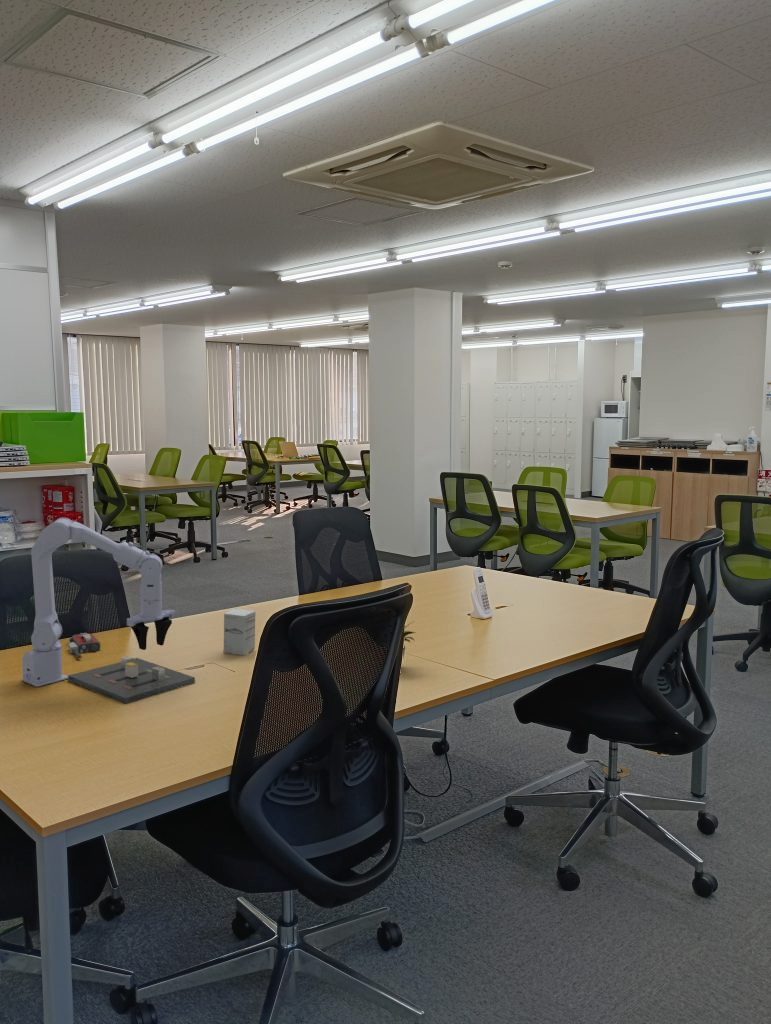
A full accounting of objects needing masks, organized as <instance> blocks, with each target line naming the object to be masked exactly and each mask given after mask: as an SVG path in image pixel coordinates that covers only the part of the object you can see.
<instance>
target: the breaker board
mask: <svg viewBox="0 0 771 1024" xmlns="http://www.w3.org/2000/svg"><path fill="white" fill-rule="evenodd" d="M130 662H132V663H135V664H138V676H137V677H133V678H131V677H128V676H125V664H127V663H130ZM67 676H68V679H67V681H68V682H70V683H73V684H75V685H77V686H81V687H83V688H85V689H88V690H91V691H93V692H95V693H98V694H101V695H102V696H105V697H107V698H110V699H113V700H115V701H118V702H121V703H122V704H125V705H126V704H129V703H133V702H137V701H140V700H142V699H145V698H149V697H153V696H155V695H156V696H157V695H159V694H163V693H166V692H169V691H172V689H173V690H176V689H178V687H179V688H182V687H181V686H183V687H186V686H189V685H192V684H195V683H196V682H195V681H196V680H195V679H196V678H195V677H194V676H192V675H189V674H185V673H182V672H179V671H177V670H173V669H171V668H167V667H166V666H165V667H164V666H162V665H159V664H158V663H157V664H156V663H153V662H150V661H148V660H144V659H142V658H139V657H136V658H135V657H132V656H129V655H125V656H121V657H120V662H119V661H118V662H115V663H112V664H108V665H104V666H101V667H96V668H92V669H87V670H85V671H80V672H78V673H77V672H76V673H72V674H69V675H67ZM194 682H195V683H194ZM191 683H192V684H191ZM188 684H189V685H188ZM185 685H186V686H185ZM175 688H176V689H175Z"/></svg>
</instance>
